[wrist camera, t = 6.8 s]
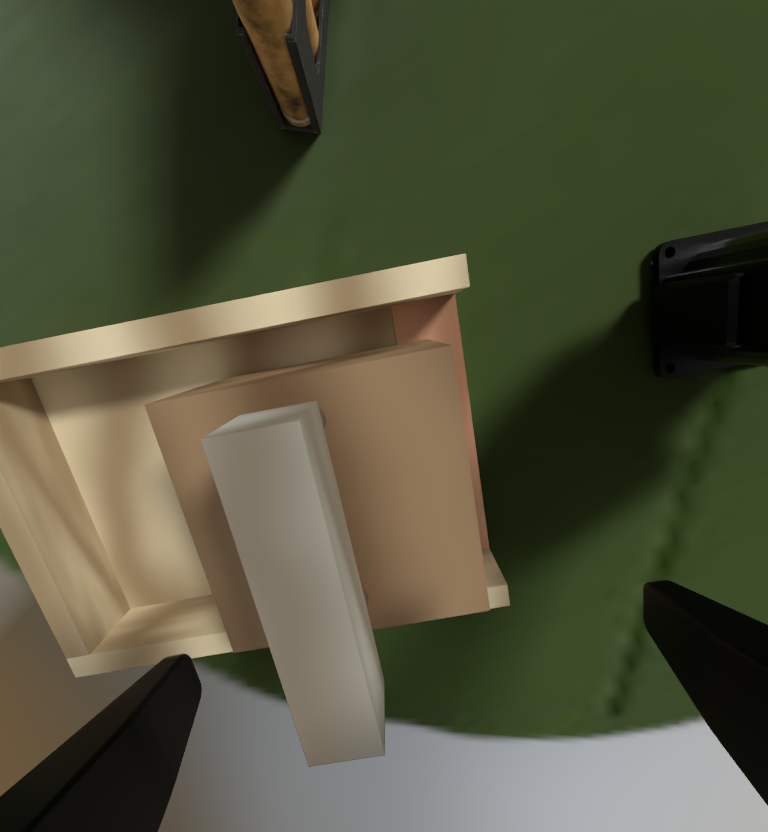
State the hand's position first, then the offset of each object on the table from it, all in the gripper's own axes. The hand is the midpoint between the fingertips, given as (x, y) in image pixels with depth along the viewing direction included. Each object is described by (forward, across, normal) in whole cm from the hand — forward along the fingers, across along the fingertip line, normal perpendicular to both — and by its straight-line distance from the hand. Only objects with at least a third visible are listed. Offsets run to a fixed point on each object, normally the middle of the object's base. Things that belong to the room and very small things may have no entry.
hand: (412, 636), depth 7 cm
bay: (+13, +7, 0) cm, 15 cm away
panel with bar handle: (+12, +2, 0) cm, 12 cm away
